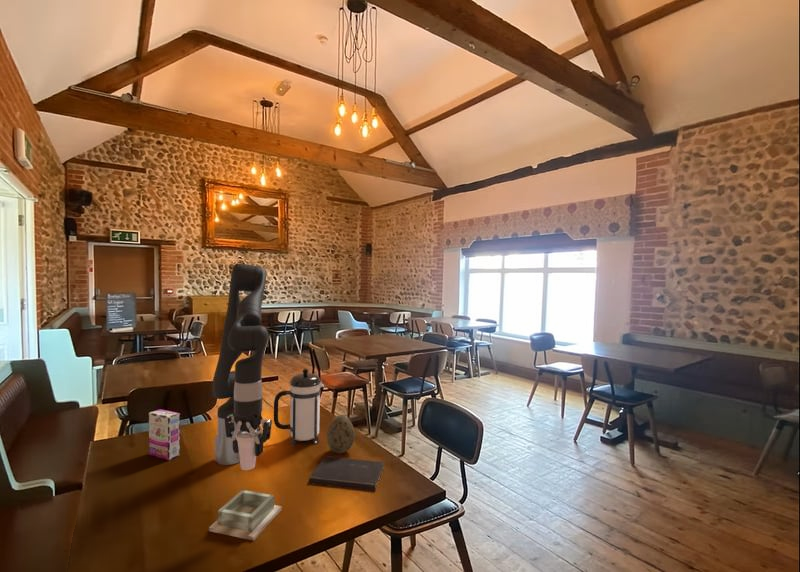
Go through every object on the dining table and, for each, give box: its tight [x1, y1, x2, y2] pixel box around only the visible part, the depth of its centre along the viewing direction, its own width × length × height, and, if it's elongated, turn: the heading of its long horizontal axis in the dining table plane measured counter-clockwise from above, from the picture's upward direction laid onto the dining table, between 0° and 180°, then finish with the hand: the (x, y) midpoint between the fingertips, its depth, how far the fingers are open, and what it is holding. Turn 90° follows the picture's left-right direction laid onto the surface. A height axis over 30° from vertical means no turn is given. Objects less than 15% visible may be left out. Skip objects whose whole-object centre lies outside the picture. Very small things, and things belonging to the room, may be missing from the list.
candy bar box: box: [148, 408, 181, 461], centre depth 150 cm, size 11×5×16 cm, turn 68°
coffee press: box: [273, 368, 325, 446], centre depth 166 cm, size 17×16×30 cm
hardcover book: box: [308, 455, 386, 492], centre depth 139 cm, size 16×23×2 cm
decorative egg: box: [326, 414, 356, 454], centre depth 156 cm, size 11×11×15 cm
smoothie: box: [236, 429, 259, 471], centre depth 113 cm, size 6×6×14 cm
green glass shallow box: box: [208, 489, 283, 541], centre depth 113 cm, size 14×14×5 cm
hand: (247, 453), depth 113 cm, fingers closed on smoothie, 6 cm apart
